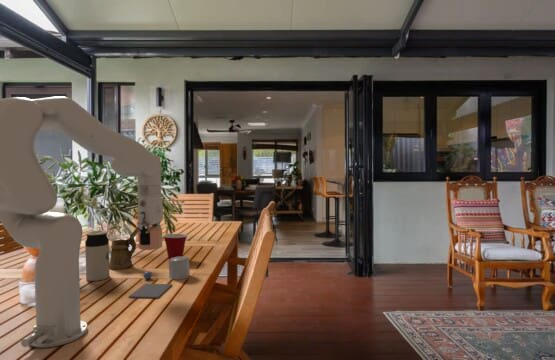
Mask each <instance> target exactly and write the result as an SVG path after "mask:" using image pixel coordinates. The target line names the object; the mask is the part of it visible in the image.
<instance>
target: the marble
mask: <svg viewBox="0 0 555 360" xmlns="http://www.w3.org/2000/svg"><path fill="white" fill-rule="evenodd" d="M152 276H153V274H152V272H151V271H149V270H147V271H145V272H144V274H143V278H144V279H145V280H150V279H152Z"/></svg>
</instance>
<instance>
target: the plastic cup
mask: <svg viewBox="0 0 555 360" xmlns="http://www.w3.org/2000/svg"><path fill="white" fill-rule="evenodd" d="M187 237H188V234H184V233H169V234H162V238H164V242H165V247H166V252H167V253H166V254H167V256H168V257H167V258H168V262H169V261H170V259H171V258H173V257H180V256H184V251H185V247H186V245H185V244H186V240H187Z"/></svg>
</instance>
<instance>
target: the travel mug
mask: <svg viewBox="0 0 555 360" xmlns="http://www.w3.org/2000/svg"><path fill="white" fill-rule="evenodd" d="M107 234H108V230H104V229H101V230H91V231H88V232H87V231H86V233H85V235H86V239H85V241H84V243H85V244H84V247H85V249H84V251H85V279H86V280H87V281H89V282H98V281H103V280H105V279H108V278H109V277H110V269H109V264H110V250H109V249H110V246H109V245H110V244H109V243H110V242H109V238H108V235H107Z"/></svg>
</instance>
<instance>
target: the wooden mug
mask: <svg viewBox="0 0 555 360" xmlns="http://www.w3.org/2000/svg"><path fill="white" fill-rule="evenodd" d="M138 230H139V229H138V226H137V227H136V228H135V229H134V230H133V231H132V233H131V234H130V235H129V238H126V239H117V240H112V242H111V246H110V249H111V251H110V257H109V270H112V271H113V270H114V271H115V270H116V271H117V270H118V269H119V270H125V269H128V268H130V267H132V266H133V260H132V256H133V254H134V253H135V251H136V248H137V242H136V240H135V239H134V238H135V237H136V236H137V234H139V231H138ZM130 246H131V249H130Z"/></svg>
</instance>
